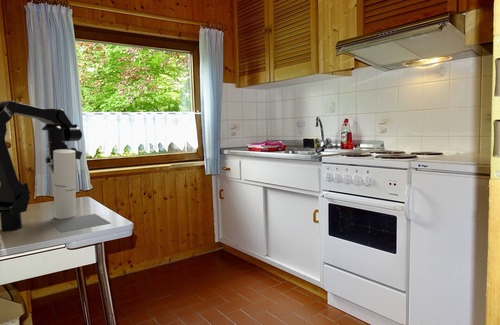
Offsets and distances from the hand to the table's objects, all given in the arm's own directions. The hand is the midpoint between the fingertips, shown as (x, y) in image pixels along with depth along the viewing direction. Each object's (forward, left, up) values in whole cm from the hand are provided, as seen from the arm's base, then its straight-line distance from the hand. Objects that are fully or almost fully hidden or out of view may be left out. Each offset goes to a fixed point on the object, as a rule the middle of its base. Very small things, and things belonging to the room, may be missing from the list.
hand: (60, 182), depth 138 cm
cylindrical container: (-4, -3, -13) cm, 14 cm away
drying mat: (-15, -12, -13) cm, 24 cm away
